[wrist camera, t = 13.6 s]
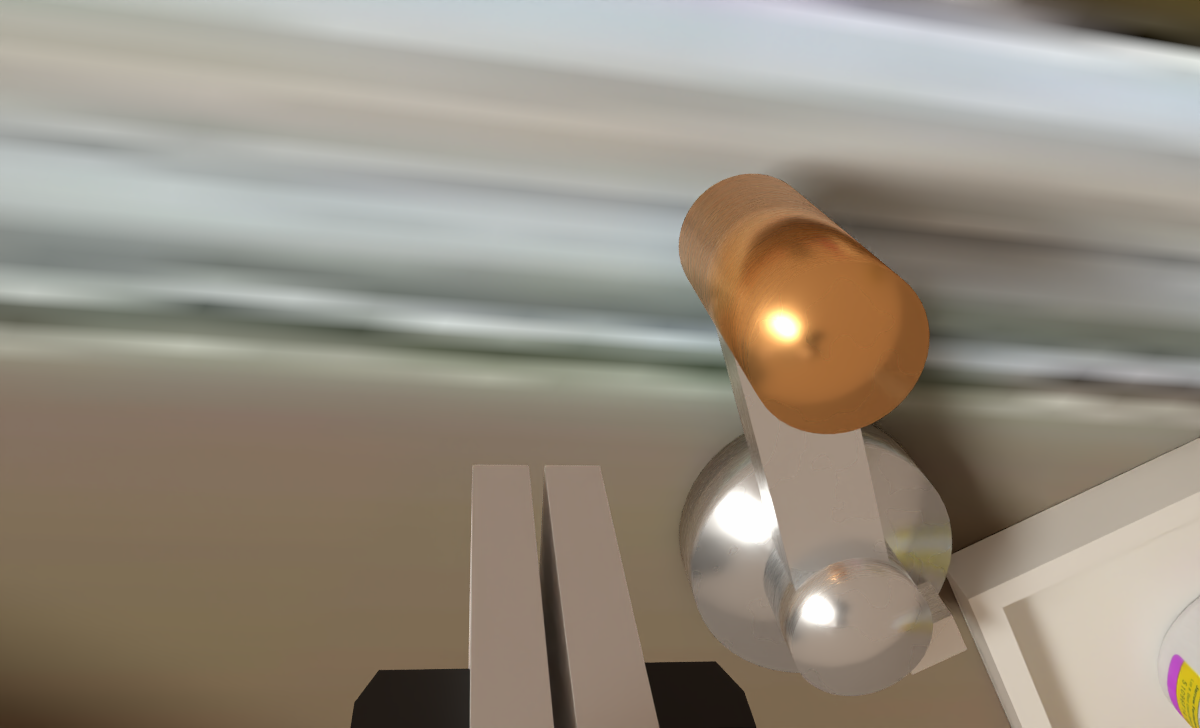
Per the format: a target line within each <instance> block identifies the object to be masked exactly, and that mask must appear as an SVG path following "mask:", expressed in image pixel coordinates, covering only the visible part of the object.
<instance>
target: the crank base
mask: <svg viewBox="0 0 1200 728" xmlns="http://www.w3.org/2000/svg"><path fill="white" fill-rule="evenodd" d="M861 433H862V437H863V442H864V447H865V451H866V456H867V461H868V465H869V470H870V475H871V479H872V484H873V489H874V493H875V498H876V503H877V507H878V512H879V517H880V521H881V526H882V531H883V535H884V538H885V540H886V541H887V543H888V544H889V546H890V547H891V549H892V550H893V552H894V553H895V555H896V556H897V558H898V559H899V561H900V562H901V564H902V565H903V567H904V568H905V570H906V571H907V573H908V574H909V576H910V577H911V579H912V580H913V582H914V583H915V585H916V586H917V588H918V589H919V591H920V592H921V594H922V595H923V597H924V598H925V600H926V601H927V603H928V605H929V607H930V610H931V614H932V618H933V633H932V638H931V641H930V644H929V647H928V649H927V651H926V653H925V655H924V656H923V658H922V659H921V661H920V662H919V663H918V665H917V666H916V667H915V668H914V669H913V670H912V671H911V673H912V675H913V674H915V673H917V672H919V671H921V670H924V669H926V668H928V667H930V666H932V665H934V664H937V663H939V662H941V661H943V660H945V659H947V658H950V657H952V656H954V655H956V654H958V653H960V652H963V651H965V650H967V648H966V646H965V644H964V641H963V639H962V637H961V634H960V632H959V630H958V627H957V625H956V623H955V621H954V618H953V616H952V614H951V613H950V611H949V610H948V608H947V607H946V605H945V604H944V603H943V601H942V600H941V598H940V597H939V595H938V594H939V592H940V590H941V587H942V585H943V583H944V581H945V578H946V575H947V572H948V568H949V565H950V559H951V552H952V532H951V526H950V520H949V517H948V514H947V510H946V507H945V505H944V503H943V501H942V499H941V497H940V495H939V494H938V492H937V491H936V490H935V488H934V487H933V485H932V484H931V483H930V481H929V480H928V479H927V478H926V477H925V475H924V474H923V473H922V472H921V470H920V469H919V468H918V467H917V465H916V464H915V463H914V462H913V461H912V459H911V458H910V457H909V456H908V454H907V453H906V452H905V451H904V450H903V448H902V447H901V446H900V445H899V444H898V443H897V442H896V441H895V440H894V439H893V438H892V437H890V436H889V435H887V434H886V433H885V432H883V431H882V430H880V429H879V428H877V427H875V426H873V425H871V424H870V425H868V426H865V427H863V428H861ZM679 543H680V552H681V557H682V560H683V564H684V567H685V570H686V573H687V577H688V580H689V583H690V586H691V589H692V592H693V595H694V598H695V601H696V604H697V607H698V610H699V612H700V614H701V616H702V619H703V621H704V622H705V624H706V625H707V627H708V628H709V630H710V631H711V633H712V634H713V635H714V636H715V637H716V638H717V639H718V640H719V641H720V643H721V644H723V645H724V646H725V647H726V648H728V649H729V650H730V651H731V652H733V653H734V654H736V655H738V656H739V657H741V658H743V659H744V660H747V661H749V662H751V663H754V664H756V665H758V666H762V667H765V668H769V669H772V670H778V671H784V672H796V673H800V672H799V670H798V668H797V667H796V664H795V662H794V660H793V658H792V655H791V653H790V651H789V648H788V646H787V644H786V641H785V639H784V637H783V634H782V632H781V630H780V627H779V625H778V623H777V620H776V618H775V616H774V613H773V611H772V609H771V606H770V604H769V602H768V600H767V597H766V594H765V591H764V585H763V576H764V569H765V566H766V562H767V560H768V558H769V556H770V554H771V552H772V550H773V549H774V548H775V547H774V543H773V540H772V536H771V532H770V528H769V525H768V521H767V517H766V513H765V510H764V506H763V502H762V498H761V495H760V491H759V487H758V483H757V480H756V476H755V472H754V468H753V465H752V461H751V457H750V453H749V450H748V446H747V442H746V438H745V434H742V435H741V436H739V437H738V438H736V439H735V440H733V441H732V442H731V443H729V444H728V445H727V446H725V447H724V448H723V449H722V450H721V451H720V452H719V453H718V454H717V455H715V456H714V457H713V458H712V460H711V461H710V462H709V463H708V464H707V465H706V467H705V468H704V469H703V470H702V472H701V473H700V475H699V476H698V478H697V479H696V481H695V482H694V484H693V486H692V488H691V490H690V492H689V494H688V496H687V499H686V502H685V505H684V508H683V511H682V516H681V521H680V529H679Z"/></svg>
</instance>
